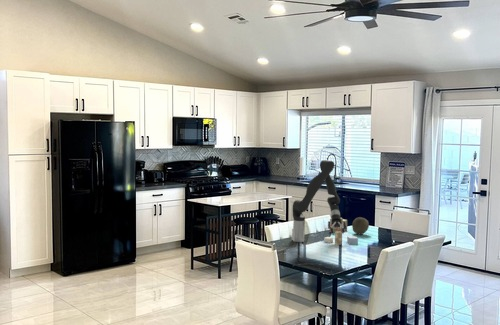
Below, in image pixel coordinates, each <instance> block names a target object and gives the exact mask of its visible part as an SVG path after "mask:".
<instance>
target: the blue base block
mask: <svg viewBox="0 0 500 325" xmlns="http://www.w3.org/2000/svg"><path fill="white" fill-rule="evenodd" d="M346 239H347V240H346V243H348V244H349V245H359V238H358V237H357V235H356V236H351V235H348V236H347V238H346Z"/></svg>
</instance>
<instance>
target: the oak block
mask: <svg viewBox="0 0 500 325" xmlns="http://www.w3.org/2000/svg"><path fill="white" fill-rule="evenodd" d="M342 235H343V234H342V231H335V233H334V244H335V245H336V246H337V245H338V246H342V238H343V236H342Z"/></svg>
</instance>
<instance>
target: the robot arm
mask: <svg viewBox="0 0 500 325" xmlns="http://www.w3.org/2000/svg"><path fill="white" fill-rule="evenodd" d="M319 169H320V172H319V173H318V174H317V175H315V177H313V178H312V179H311V180H310V181H309V182H308V184H307V187H306V193H305V195H304V197H303V198H302V200H300V199H297V200H296V199H295V200H294V201H293V203H292V217H293V224H292V225H293V226H292V227H293V228H292V229H291V230H292V231H291V232H292V234H291V241H292V240H293V242H295V243H304V242H305V227H306V224H305V223H306V217H305V216H304V213H305V212H306V211H307V210H308V208H309V206H310V204H311V202H312V200H313V198H314V197H315V195H316V194H317V193H318V191H319V190H320V188H321V187H322V184H324V182H325V186H326V190H327V191H326V192H327V194H328V195H329V196H328V198H327V200H326V202H327V204H328V206H329V208H330V217H331V218H330V219H331V220H332V222H330V220H329V221H328V222H327V229H328V230H330V229H331V232H330V233H331V234H333V228H334V227H340V228H341V229H342V231H341V232H342V235H343V234H344V233H345V230H344V229H346V224H345V222H341V218H342V217H341V212H340V209H339V204H340V203H341V198H340V197H339V195H338V193H337V188H336V185H335V182H334V180H333V179H332V177H331V175H330V174H331V173H332V172H333V171H334V169H335V163H334V161H332V160H327V159H323V160H321V161H320V162H319ZM330 224H332V226H331V227H330ZM341 224H343V226H344V227H343V226H342V225H341Z"/></svg>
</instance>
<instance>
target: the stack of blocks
mask: <svg viewBox="0 0 500 325" xmlns="http://www.w3.org/2000/svg"><path fill="white" fill-rule="evenodd" d="M340 218H341V222H345V224H346V229H344V231H347V230H348V219H344V218H343V217H340ZM329 221H330V222H332V220H331V218H330V219H329ZM341 225H342V226H343V224H341ZM331 226H332V224H330V227H331ZM343 227H344V226H343ZM335 231H341V232H342V229H341V228H340V227H334V228H333V233H334V234H335ZM329 233H331V229H329ZM333 233H332V234H333Z"/></svg>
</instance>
